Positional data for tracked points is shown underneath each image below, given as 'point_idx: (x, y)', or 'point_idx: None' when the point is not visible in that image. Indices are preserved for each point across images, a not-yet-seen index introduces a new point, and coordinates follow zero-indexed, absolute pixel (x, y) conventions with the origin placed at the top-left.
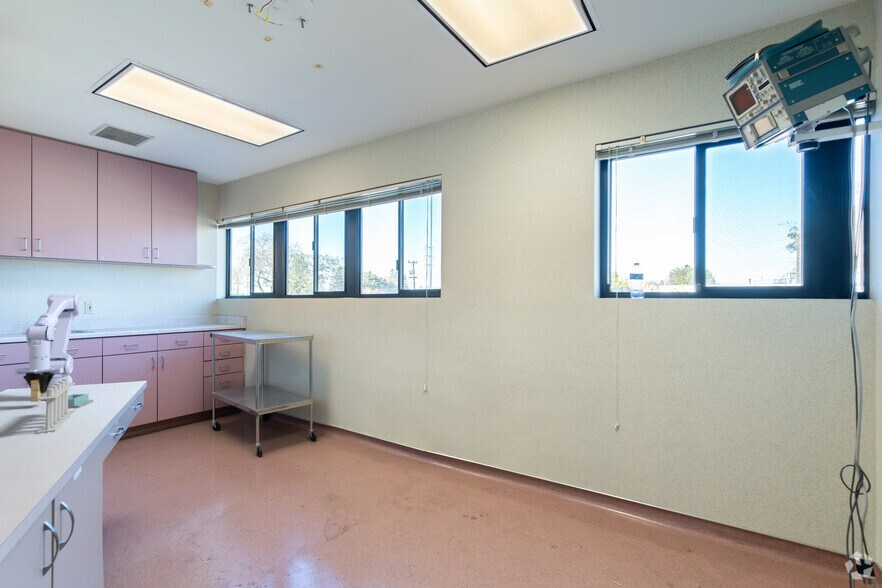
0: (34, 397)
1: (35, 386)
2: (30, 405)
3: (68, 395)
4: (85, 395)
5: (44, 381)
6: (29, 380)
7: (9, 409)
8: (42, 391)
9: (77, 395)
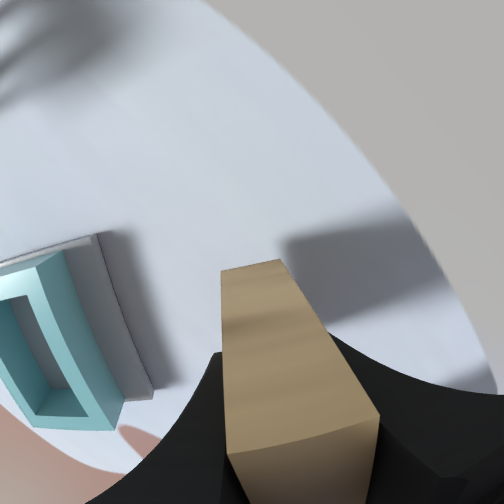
0: (253, 280)
1: (258, 355)
2: (346, 322)
3: (99, 406)
4: (18, 401)
5: (146, 459)
6: (418, 416)
7: (398, 218)
8: (210, 360)
9: (66, 413)
